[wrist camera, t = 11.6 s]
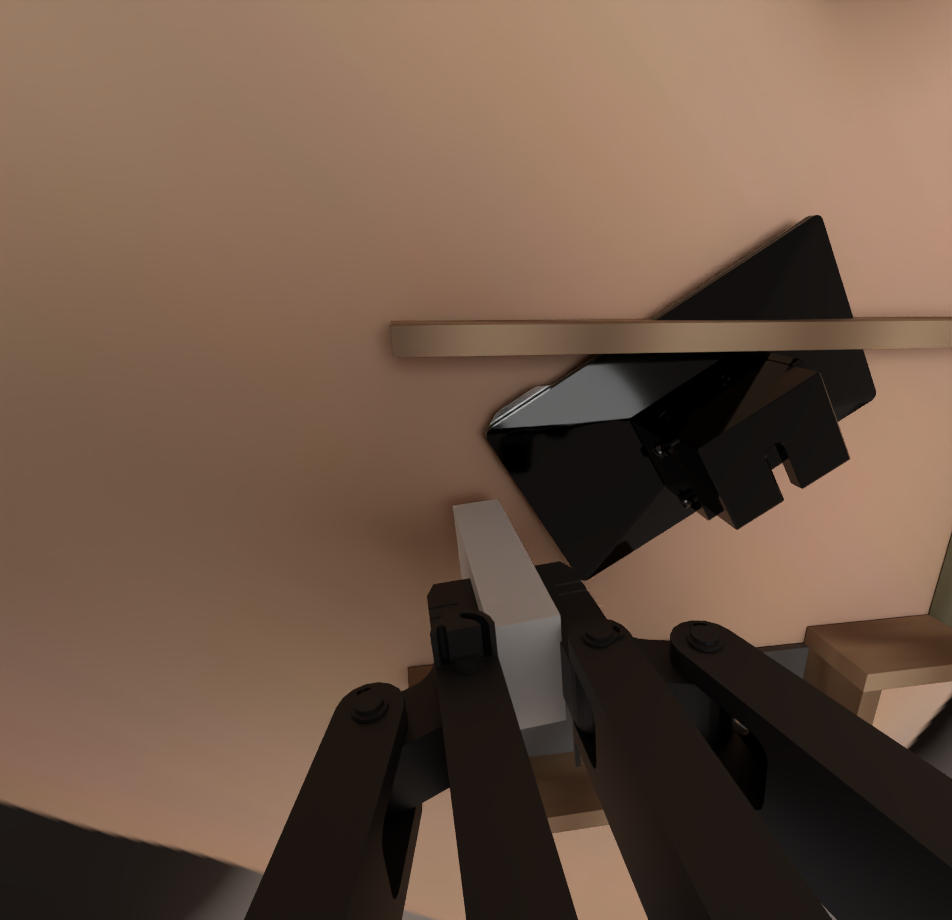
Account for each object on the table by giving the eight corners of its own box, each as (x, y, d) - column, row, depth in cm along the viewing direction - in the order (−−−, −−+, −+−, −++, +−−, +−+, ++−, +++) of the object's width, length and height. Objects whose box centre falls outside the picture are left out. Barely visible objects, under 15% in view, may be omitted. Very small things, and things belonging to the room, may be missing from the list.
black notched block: (578, 576, 20) (630, 662, 15) (476, 423, 17) (503, 475, 13) (870, 395, 19) (1012, 431, 15) (810, 204, 16) (960, 180, 12)
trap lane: (413, 781, 22) (416, 853, 19) (391, 320, 16) (390, 325, 13) (917, 714, 25) (984, 767, 22) (1038, 315, 20) (1147, 318, 17)
